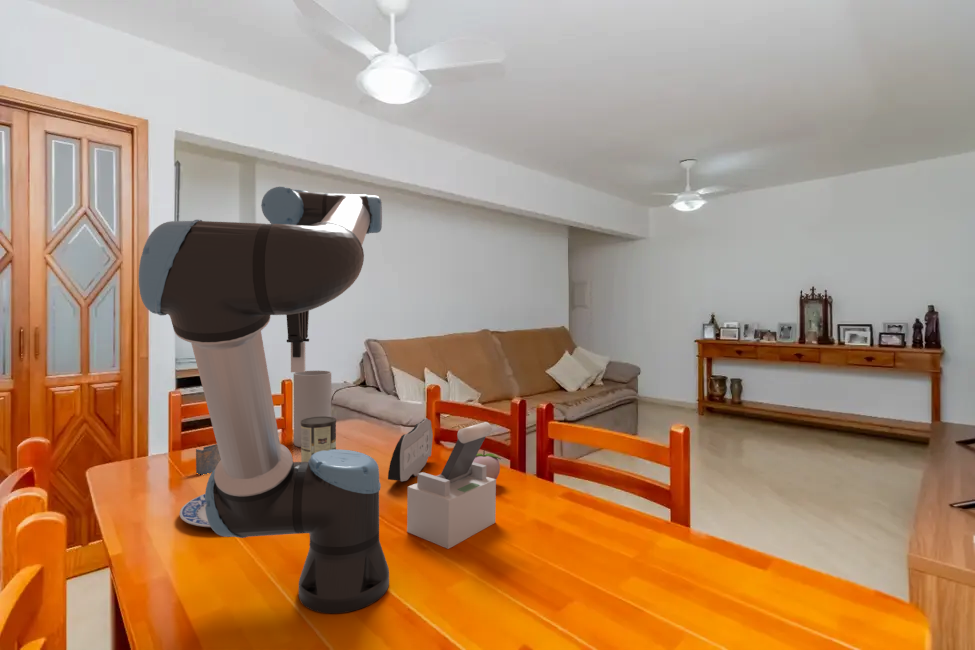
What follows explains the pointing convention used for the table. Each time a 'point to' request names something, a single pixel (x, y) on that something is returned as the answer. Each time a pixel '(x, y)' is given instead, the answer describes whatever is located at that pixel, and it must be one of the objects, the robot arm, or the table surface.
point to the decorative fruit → (489, 464)
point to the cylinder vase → (310, 398)
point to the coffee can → (317, 436)
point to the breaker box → (451, 506)
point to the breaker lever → (465, 451)
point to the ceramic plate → (195, 512)
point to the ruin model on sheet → (207, 459)
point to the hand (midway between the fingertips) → (298, 371)
